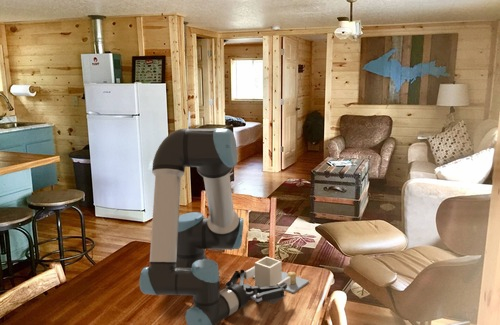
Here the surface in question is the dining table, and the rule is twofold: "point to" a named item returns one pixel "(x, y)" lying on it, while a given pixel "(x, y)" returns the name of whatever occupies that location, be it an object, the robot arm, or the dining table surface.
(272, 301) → the mat
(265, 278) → the sleeve
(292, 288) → the pin board
